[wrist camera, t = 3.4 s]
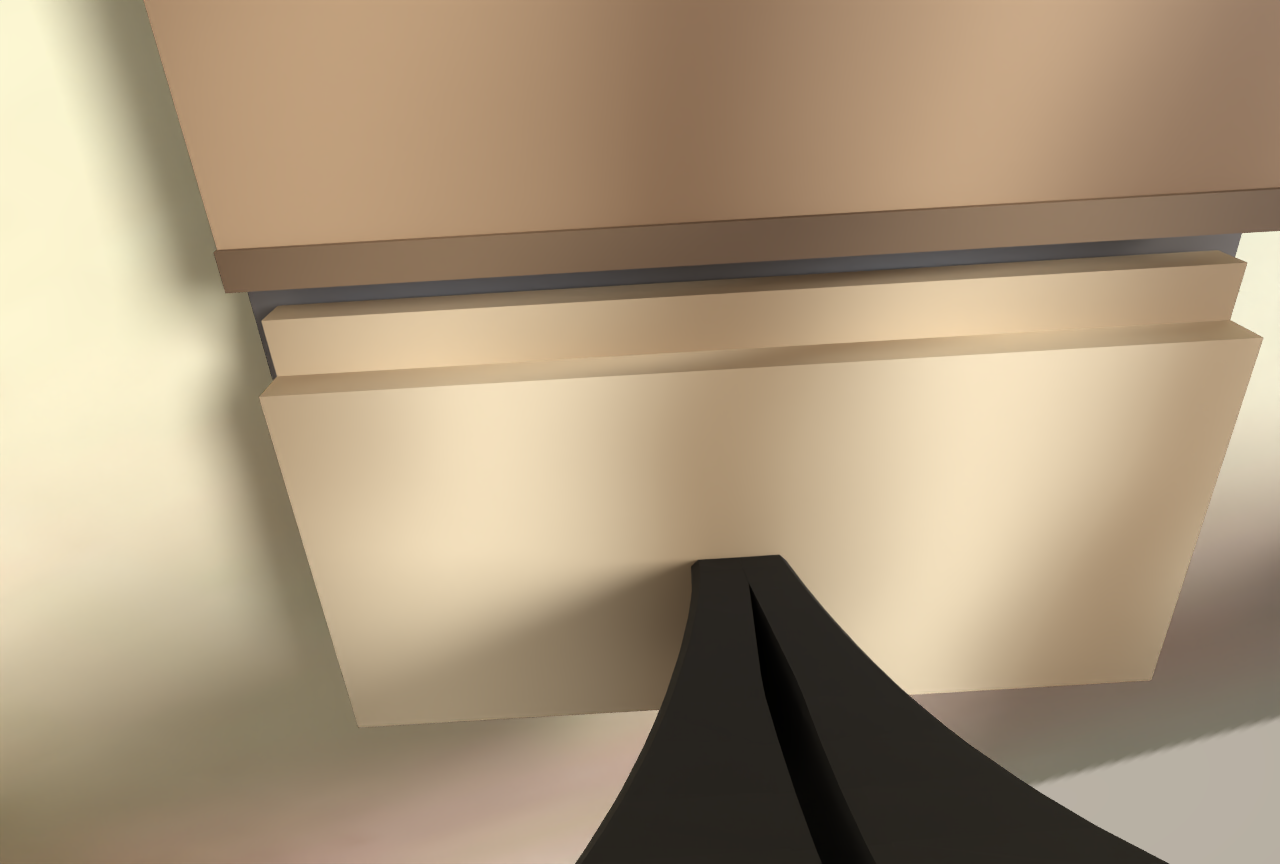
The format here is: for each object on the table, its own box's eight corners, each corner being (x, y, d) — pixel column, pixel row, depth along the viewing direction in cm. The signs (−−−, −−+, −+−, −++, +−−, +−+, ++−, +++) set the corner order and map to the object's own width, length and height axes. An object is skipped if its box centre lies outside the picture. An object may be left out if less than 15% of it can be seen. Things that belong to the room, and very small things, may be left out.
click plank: (1206, 245, 12) (1283, 277, 10) (1102, 619, 15) (1151, 680, 13) (283, 299, 12) (240, 338, 10) (381, 661, 15) (358, 727, 13)
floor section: (1378, -431, 9) (1617, -568, 7) (1103, 606, 16) (1179, 700, 13) (98, -355, 9) (-63, -470, 7) (369, 649, 16) (331, 751, 13)
